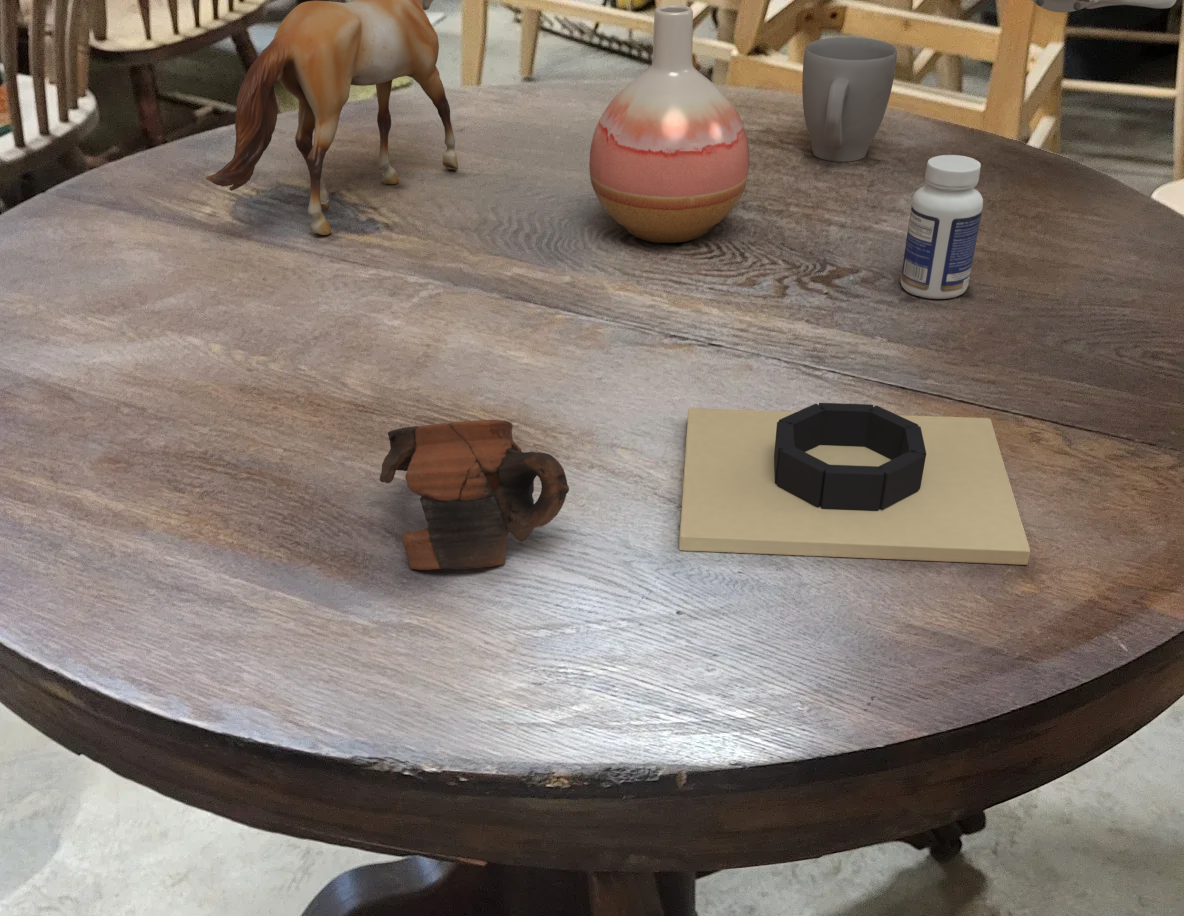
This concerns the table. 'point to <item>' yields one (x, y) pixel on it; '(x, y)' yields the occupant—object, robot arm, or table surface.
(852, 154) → the mug
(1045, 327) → the table surface
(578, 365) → the table surface
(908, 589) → the table surface
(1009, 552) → the socket pad
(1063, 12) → the robot arm
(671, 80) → the vase
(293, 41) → the horse figurine
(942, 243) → the pill bottle
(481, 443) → the pottery mug
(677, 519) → the table surface
